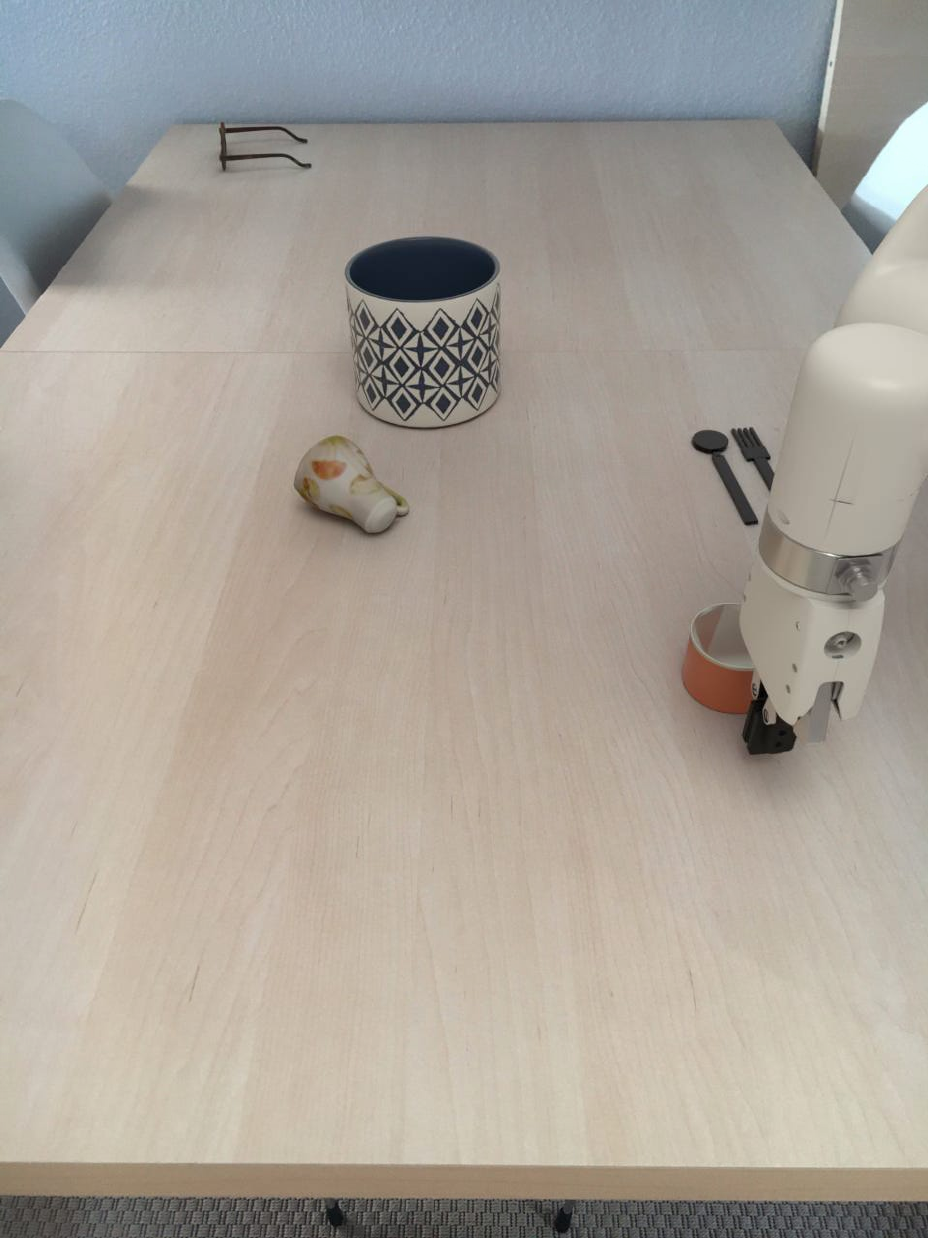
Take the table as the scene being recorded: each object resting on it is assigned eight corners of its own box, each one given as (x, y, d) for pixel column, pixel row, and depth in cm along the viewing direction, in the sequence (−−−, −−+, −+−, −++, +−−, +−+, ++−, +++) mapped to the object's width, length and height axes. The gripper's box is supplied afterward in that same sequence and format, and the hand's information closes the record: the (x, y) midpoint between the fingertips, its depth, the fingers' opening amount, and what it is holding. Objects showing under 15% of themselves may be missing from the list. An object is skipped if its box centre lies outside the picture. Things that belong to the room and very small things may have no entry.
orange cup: (790, 674, 78) (803, 628, 74) (747, 729, 74) (760, 683, 70) (709, 636, 81) (718, 590, 78) (664, 686, 77) (672, 640, 74)
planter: (404, 448, 102) (394, 317, 92) (331, 384, 112) (316, 259, 102) (528, 401, 108) (532, 274, 98) (449, 344, 118) (445, 223, 108)
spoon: (770, 523, 92) (771, 518, 91) (732, 526, 91) (733, 521, 91) (721, 433, 103) (722, 428, 102) (687, 435, 103) (688, 430, 102)
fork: (805, 520, 92) (806, 516, 92) (780, 522, 92) (781, 519, 91) (752, 429, 103) (753, 426, 103) (730, 431, 103) (730, 428, 103)
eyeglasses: (221, 147, 172) (216, 116, 168) (307, 140, 173) (303, 109, 170) (222, 176, 161) (216, 144, 158) (313, 168, 163) (309, 136, 159)
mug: (371, 559, 89) (309, 469, 85) (327, 547, 97) (269, 465, 93) (430, 508, 92) (372, 418, 87) (382, 501, 100) (328, 418, 95)
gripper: (949, 622, 52) (860, 827, 65) (840, 463, 63) (781, 664, 76) (811, 635, 52) (748, 838, 64) (725, 472, 63) (685, 673, 75)
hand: (766, 744), depth 70 cm, fingers closed
